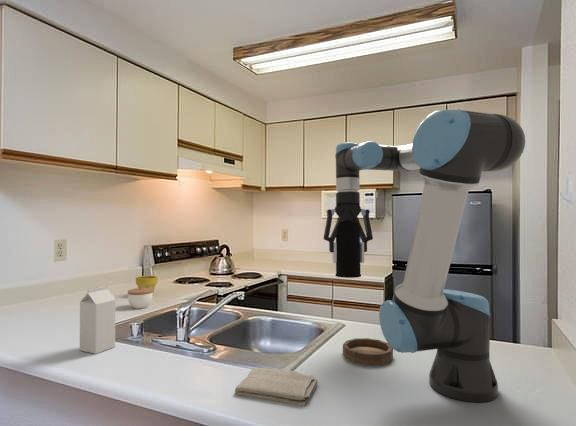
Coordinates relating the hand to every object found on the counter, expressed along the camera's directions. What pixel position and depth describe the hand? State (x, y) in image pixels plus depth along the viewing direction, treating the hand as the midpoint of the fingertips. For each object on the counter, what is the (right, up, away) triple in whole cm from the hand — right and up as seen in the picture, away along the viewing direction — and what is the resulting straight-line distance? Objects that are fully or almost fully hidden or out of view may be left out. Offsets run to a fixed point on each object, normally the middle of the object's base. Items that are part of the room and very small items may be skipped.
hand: (348, 262), depth 122 cm
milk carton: (-78, -27, -4) cm, 83 cm away
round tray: (+4, -27, -9) cm, 28 cm away
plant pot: (-92, -27, +73) cm, 121 cm away
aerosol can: (0, -4, 0) cm, 4 cm away
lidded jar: (-86, -27, +50) cm, 103 cm away
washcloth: (-22, -27, -30) cm, 46 cm away
